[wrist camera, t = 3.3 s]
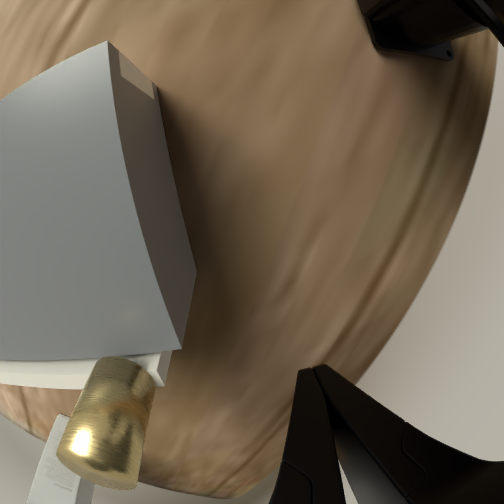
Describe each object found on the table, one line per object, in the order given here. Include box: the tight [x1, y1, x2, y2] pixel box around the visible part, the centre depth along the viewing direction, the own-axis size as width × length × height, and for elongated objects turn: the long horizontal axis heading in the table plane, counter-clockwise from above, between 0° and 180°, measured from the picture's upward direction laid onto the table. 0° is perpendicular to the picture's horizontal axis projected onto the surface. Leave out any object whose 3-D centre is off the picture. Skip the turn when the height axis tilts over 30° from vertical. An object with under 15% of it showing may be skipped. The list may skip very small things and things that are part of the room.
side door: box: [0, 350, 172, 490], centre depth 10 cm, size 12×2×11 cm, turn 100°
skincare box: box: [27, 414, 95, 504], centre depth 14 cm, size 6×4×12 cm
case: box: [0, 41, 197, 360], centre depth 10 cm, size 14×10×6 cm
